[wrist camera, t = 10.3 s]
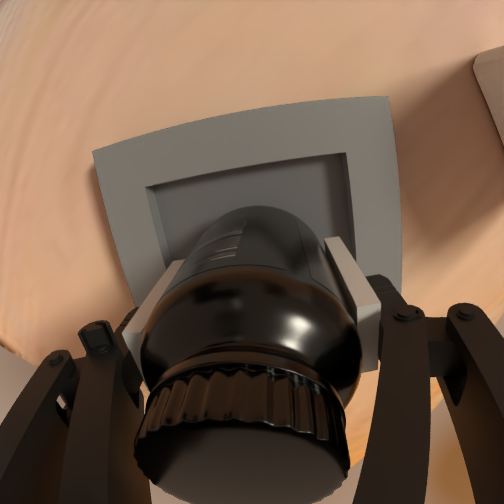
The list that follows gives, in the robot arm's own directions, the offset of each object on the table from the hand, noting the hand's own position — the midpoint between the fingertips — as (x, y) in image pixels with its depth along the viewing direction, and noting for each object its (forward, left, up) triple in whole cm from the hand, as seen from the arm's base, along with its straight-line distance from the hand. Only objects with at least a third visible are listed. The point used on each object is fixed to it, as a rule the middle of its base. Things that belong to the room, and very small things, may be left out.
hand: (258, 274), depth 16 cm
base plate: (0, 0, -4) cm, 4 cm away
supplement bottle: (0, 0, -1) cm, 1 cm away
